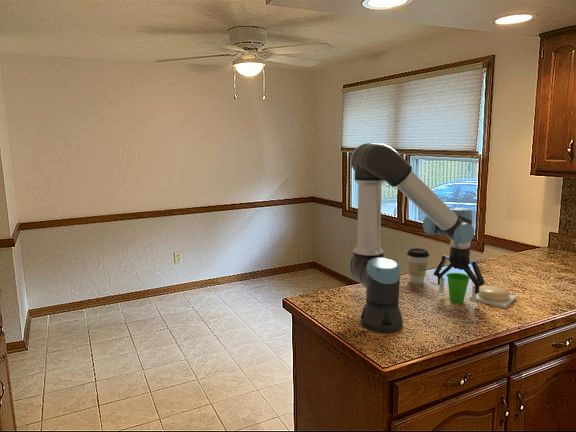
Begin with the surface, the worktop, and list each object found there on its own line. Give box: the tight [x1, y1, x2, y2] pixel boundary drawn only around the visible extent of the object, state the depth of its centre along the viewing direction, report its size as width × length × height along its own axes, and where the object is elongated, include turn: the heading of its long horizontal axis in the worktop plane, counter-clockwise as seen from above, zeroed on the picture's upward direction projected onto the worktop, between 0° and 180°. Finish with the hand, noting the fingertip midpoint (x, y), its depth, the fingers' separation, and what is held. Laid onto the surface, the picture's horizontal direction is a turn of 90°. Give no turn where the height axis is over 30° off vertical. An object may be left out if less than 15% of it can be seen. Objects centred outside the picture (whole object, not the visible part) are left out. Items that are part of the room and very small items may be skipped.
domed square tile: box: [469, 285, 517, 309], centre depth 185 cm, size 14×14×4 cm
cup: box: [446, 272, 471, 305], centre depth 182 cm, size 9×9×11 cm
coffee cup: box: [406, 248, 430, 285], centre depth 207 cm, size 10×10×15 cm
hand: (457, 296), depth 183 cm, fingers open, 13 cm apart
